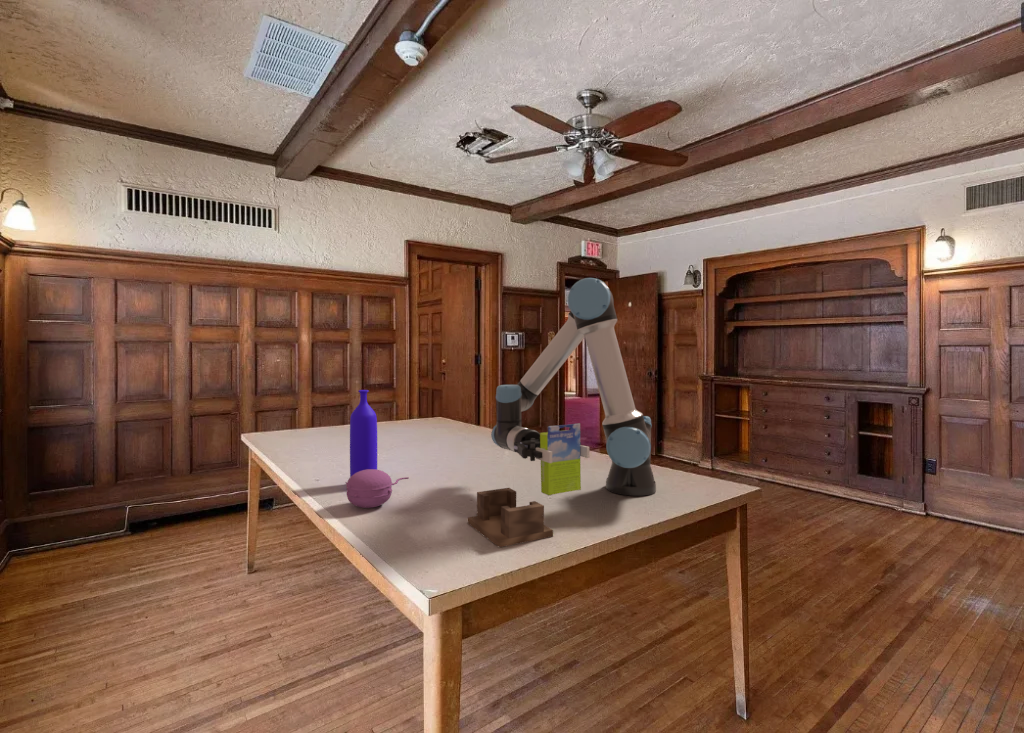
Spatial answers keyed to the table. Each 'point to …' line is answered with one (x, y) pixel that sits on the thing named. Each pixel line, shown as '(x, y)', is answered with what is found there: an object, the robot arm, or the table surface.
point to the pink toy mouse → (369, 488)
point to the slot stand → (508, 518)
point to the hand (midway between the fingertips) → (570, 454)
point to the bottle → (363, 436)
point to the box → (561, 459)
